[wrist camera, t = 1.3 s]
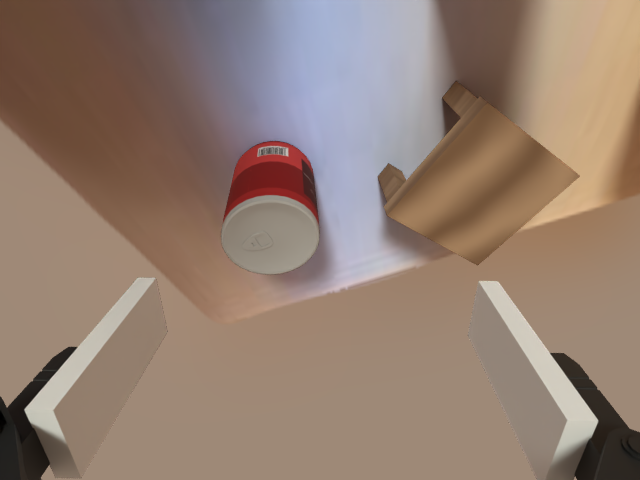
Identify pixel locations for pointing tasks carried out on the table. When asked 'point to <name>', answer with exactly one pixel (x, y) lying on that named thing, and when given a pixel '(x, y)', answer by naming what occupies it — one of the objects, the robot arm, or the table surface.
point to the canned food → (271, 210)
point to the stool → (476, 181)
